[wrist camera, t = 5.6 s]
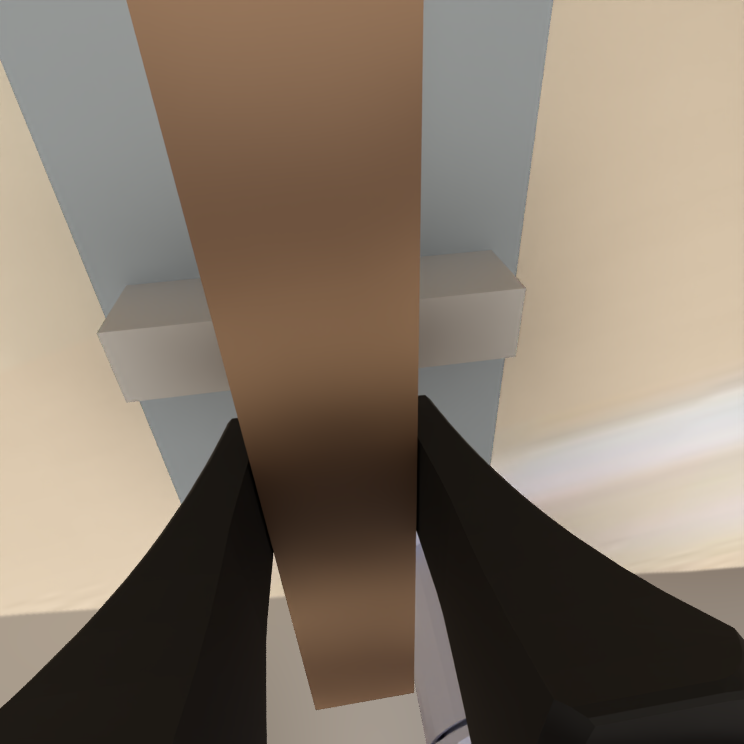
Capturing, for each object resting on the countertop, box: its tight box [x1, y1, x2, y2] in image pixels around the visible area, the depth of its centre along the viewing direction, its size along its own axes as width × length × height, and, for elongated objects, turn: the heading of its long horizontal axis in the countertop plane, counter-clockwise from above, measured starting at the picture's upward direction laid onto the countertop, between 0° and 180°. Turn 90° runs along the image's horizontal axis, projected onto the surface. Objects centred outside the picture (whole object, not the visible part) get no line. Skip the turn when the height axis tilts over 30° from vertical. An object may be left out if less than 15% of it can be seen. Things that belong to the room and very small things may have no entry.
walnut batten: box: [126, 0, 424, 710], centre depth 12 cm, size 18×3×5 cm, turn 3°
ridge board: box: [0, 0, 553, 504], centre depth 16 cm, size 20×14×4 cm
